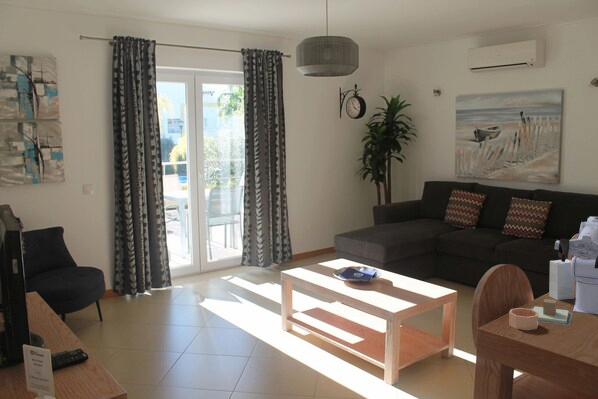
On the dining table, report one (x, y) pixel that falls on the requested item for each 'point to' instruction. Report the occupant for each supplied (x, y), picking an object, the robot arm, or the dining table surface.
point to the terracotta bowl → (523, 319)
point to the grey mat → (560, 323)
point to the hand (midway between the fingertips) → (579, 261)
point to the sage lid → (551, 312)
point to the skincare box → (561, 280)
